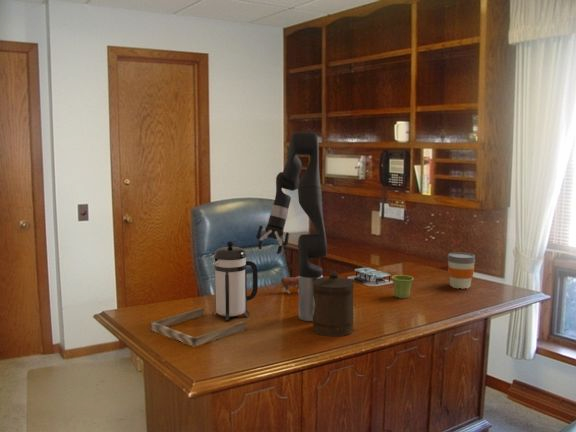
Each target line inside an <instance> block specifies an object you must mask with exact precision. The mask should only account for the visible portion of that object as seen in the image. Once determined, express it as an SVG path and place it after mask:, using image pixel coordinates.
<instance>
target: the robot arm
mask: <svg viewBox="0 0 576 432" xmlns="http://www.w3.org/2000/svg"><path fill="white" fill-rule="evenodd" d="M319 150H320V149H319V136H318V134H317V133H316V132H314V131H313V132H311V131H295V132H293V133H292V134H291V136H290V139H289V145H288V150H287V158H286V163H285V165H284V168H283V170H282V171H279V172H278V174H277V175H276V177H275V187H276V188H275V197H274V201H273V205H272V208H271V210H270V213H269V218H268V221H267V225H266V226H263V225H259V228H258V231H257V233H256V239H257V240H258V244H257V245H258V246H257V247H258V250H262V248H263V244H264V240H266V239H267V238H269V239H273V240H277V242H278V244H279V245H278V247H277V252H276V254H277V255H280V254H282V250H283V248H284V247H287V246H288V244H289V239H290V235H291V234H290V232H285V231H284V229H285V225H286V221H287V218H288V213H289V208H290V204H291V200H292V199H291V196H290V195H288V194H287V193H285V192H284V191H283V189H285V190H288V191H291V192H292V191H293V192H294V191H296V190H297V195H298V197H297V198H298V203H299V205H300V207H301V209H302V210H303V211H304V213H305V214H306V216H307V217H308V218H309V219H310V221H311V222H312V225H313V227H314V230H315V233H310V234H309V233H307V234H306V233H305V234H300V236H299V237H298V240H297V241H298V242H297V250H298V277H299V293H298V319H299V320H301V321H305V322H313V293H314V281H315V280H317V279H320V278H324V275H323V273H324V271H323V268H322V267H321V266H320V265H316V264H313V263H311V262H310V261H309V259H317V258H318V259H320V258H325V257H326V256H327V254H328V243H327V241H328V240H327V235H326V228H325V222H324V212H323V211H324V210H323V197H322V196H323V195H322V186H321V176H320V175H321V174H320V160H319V159H320V158H319V157H320V154H319ZM299 156H309V163H308V165H307V168H306V170H305V171H304V173H303V175H302V176H301V178H300V173H301V171H302V167H303V166H302V160H301V158H300V157H299ZM264 231H265V234H263V235H262V233H263V232H264ZM282 236H283V237H284V242H283V240H282V238H281V237H282Z"/></svg>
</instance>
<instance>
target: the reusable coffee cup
mask: <svg viewBox="0 0 576 432" xmlns="http://www.w3.org/2000/svg"><path fill="white" fill-rule="evenodd" d="M447 263H448V265H447V271H448V276H449V285H450V287H451V286H452V288H454V289H459V288H461V289H463V290H464V289H465V288H466V289H469V287H470V288H471V283H472V279H473V277H474V273H475V263H476V255H475V254H472V253H469V252H468V253H467V252H450V253H448V254H447ZM466 289H465V290H466Z"/></svg>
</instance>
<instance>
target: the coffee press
mask: <svg viewBox="0 0 576 432" xmlns="http://www.w3.org/2000/svg"><path fill="white" fill-rule="evenodd" d="M233 245H234V242H232V241H228V242H227V246H224V247H220V248H218V249H216V251H215V252H214V254H213V261H212V265H214V269H213V270H214V311H213V312H211V313H212V316H213V317H215V316H217V314H218V315H220V316H222V317H225V318H224V321H225V322H230V318H231V317H237V316H241V315H244V316H245V317H246V318H249V317H250V315H251V314H250V312H249V311H248V303H247V302H248V301H251V300H252V299H254V298H256V295H257V294H258V286H259V285H258V284H259V283H258V279H259V278H258V275H259V274H258V273H259V272H258V267H257V265H256V263H255V262H254V261H251V260H246V259H247V257H248V254H247V253H246V250H244V248H242V247H239V246H233ZM247 266H250V267H251V270H252V291H251V293H250V294H249V295H247V294H248V291H247V289H248V288H247V287H248V285H247V280H248V279H247V278H248V277H247ZM215 311H216V313H215ZM246 313H247V314H248V315H247V314H246Z"/></svg>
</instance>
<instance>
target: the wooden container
mask: <svg viewBox="0 0 576 432" xmlns="http://www.w3.org/2000/svg"><path fill="white" fill-rule="evenodd" d="M328 276H329V277H327V276H326V277H323V278H320V279H317V280H315V281H314V293H313V321H312V330H313V332H315V334H318V335H321V336H324V337H345V336H348V335H350V334H352V333H353V332H354V318H355V317H354V316H355V315H354V314H355V313H354V282H353V280H348V278H344V277H339V273H338V272H337V271H335V270H332V271H331V272H329V273H328Z"/></svg>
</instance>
